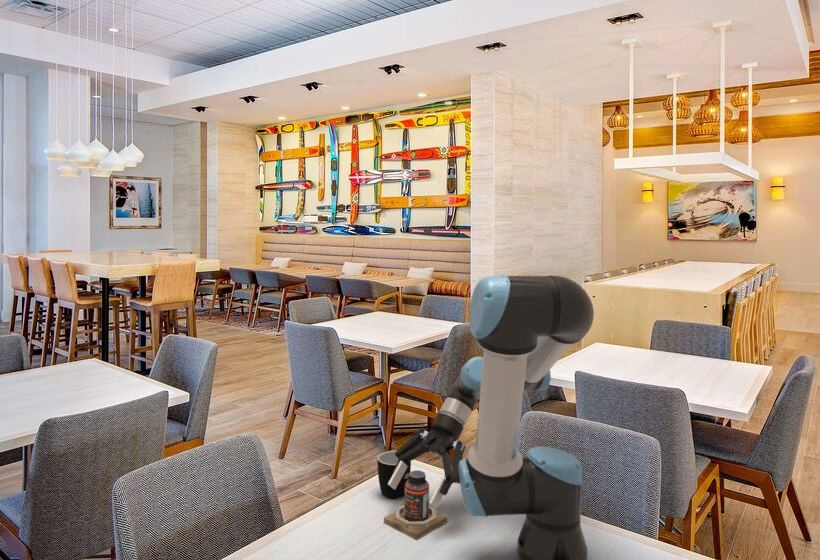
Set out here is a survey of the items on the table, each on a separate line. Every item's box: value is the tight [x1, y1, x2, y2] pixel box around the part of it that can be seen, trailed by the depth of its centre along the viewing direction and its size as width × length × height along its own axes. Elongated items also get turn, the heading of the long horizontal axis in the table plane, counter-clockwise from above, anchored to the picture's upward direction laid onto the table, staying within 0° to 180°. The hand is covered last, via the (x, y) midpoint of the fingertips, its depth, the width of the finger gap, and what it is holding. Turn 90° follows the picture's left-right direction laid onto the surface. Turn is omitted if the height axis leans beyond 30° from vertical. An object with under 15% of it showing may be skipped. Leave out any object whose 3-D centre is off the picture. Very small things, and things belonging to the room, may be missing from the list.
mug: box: [377, 450, 412, 500], centre depth 158 cm, size 12×9×10 cm
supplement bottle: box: [404, 470, 430, 522], centre depth 142 cm, size 6×6×11 cm
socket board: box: [383, 503, 448, 540], centre depth 143 cm, size 11×11×2 cm
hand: (411, 496), depth 141 cm, fingers open, 13 cm apart
